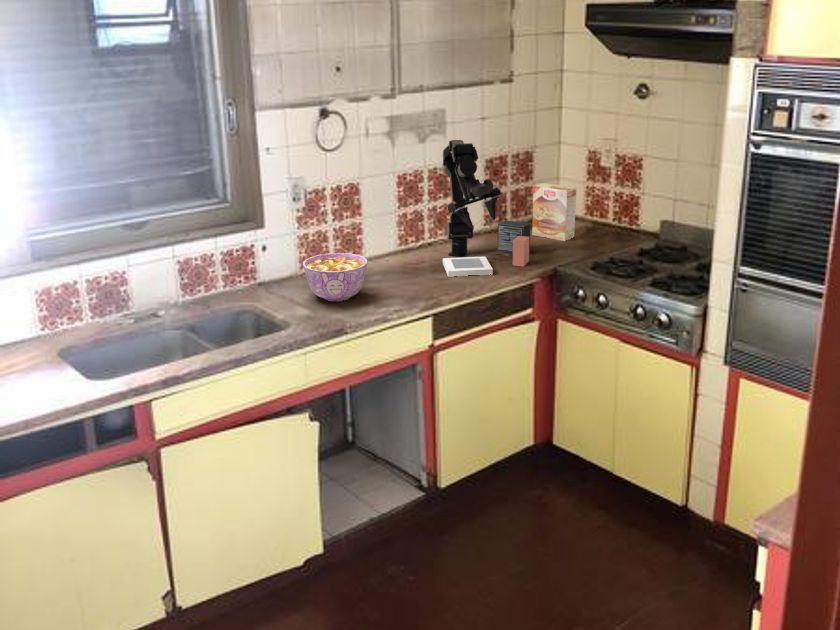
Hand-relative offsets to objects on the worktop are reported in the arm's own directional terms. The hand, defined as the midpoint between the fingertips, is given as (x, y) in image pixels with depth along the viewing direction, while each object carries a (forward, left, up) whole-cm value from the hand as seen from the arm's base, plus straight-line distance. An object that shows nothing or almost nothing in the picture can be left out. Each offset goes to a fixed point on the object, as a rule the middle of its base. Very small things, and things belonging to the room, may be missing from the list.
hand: (483, 223), depth 311 cm
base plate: (+3, -5, -16) cm, 17 cm away
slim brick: (-10, +10, -16) cm, 22 cm away
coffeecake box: (-48, +11, -16) cm, 52 cm away
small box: (-24, +3, -16) cm, 29 cm away
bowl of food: (+45, -33, -16) cm, 58 cm away
